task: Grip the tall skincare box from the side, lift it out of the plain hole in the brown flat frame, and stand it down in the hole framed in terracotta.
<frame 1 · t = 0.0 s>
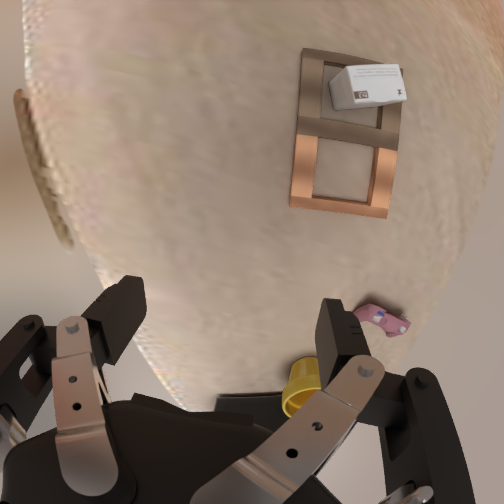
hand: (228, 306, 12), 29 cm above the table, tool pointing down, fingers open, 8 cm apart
brown flat frame: (347, 132, 35), on the table
video game controller: (377, 312, 46), on the table
plant pot: (308, 367, 52), on the table
skincare box: (349, 96, 33), resting in brown flat frame
voltmeter: (260, 412, 59), on the table
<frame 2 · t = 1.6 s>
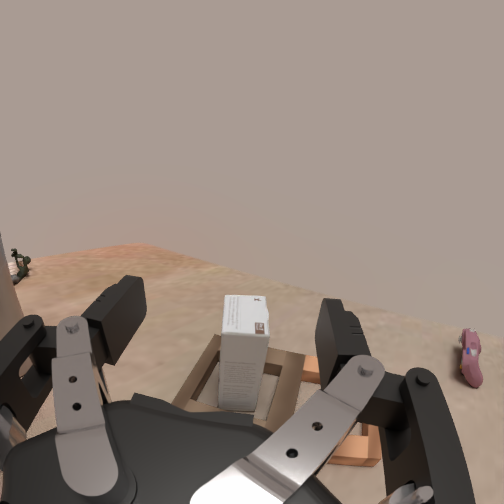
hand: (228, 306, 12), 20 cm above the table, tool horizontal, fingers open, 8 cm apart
brown flat frame: (283, 403, 29), on the table
video game controller: (464, 367, 33), on the table
skincare box: (238, 394, 30), resting in brown flat frame
zombie figurine: (12, 286, 43), on the table
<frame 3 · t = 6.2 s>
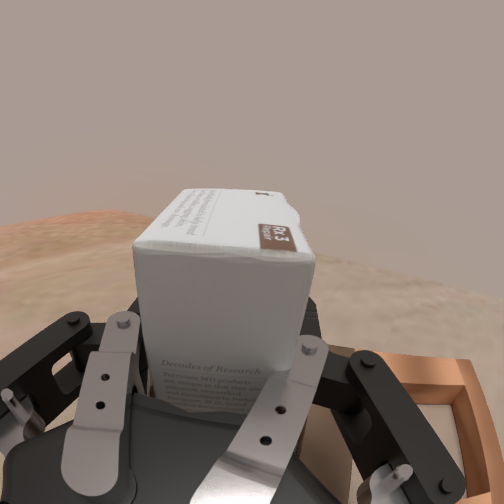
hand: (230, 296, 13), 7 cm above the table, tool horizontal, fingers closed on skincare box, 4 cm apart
brown flat frame: (319, 450, 12), on the table
skincare box: (221, 431, 13), resting in brown flat frame, touching gripper
when the fingers open (8 cm above the table, at t = 11.1 s): skincare box stays where it is, resting in brown flat frame.
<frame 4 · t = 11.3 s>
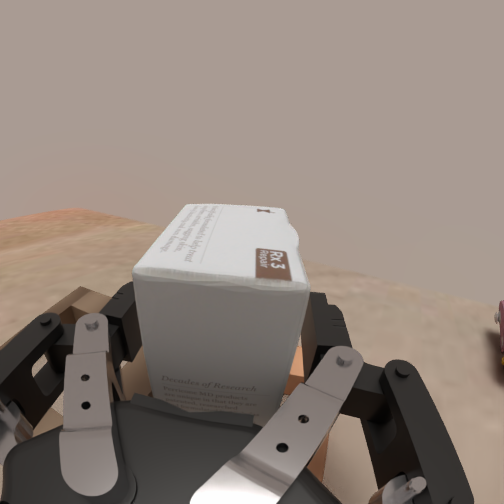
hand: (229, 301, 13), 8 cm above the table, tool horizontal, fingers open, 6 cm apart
brown flat frame: (138, 404, 15), on the table
skincare box: (222, 437, 14), resting in brown flat frame
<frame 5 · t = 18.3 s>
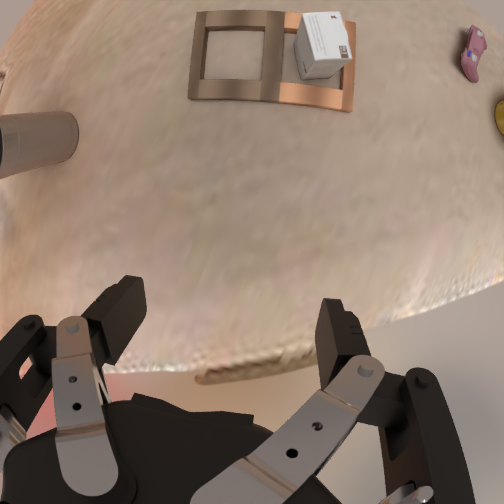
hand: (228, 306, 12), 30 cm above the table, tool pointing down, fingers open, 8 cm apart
brown flat frame: (273, 56, 32), on the table
video game controller: (466, 55, 27), on the table
skincare box: (312, 61, 32), resting in brown flat frame
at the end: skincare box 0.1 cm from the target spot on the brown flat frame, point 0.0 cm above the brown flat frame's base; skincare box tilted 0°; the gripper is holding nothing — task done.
